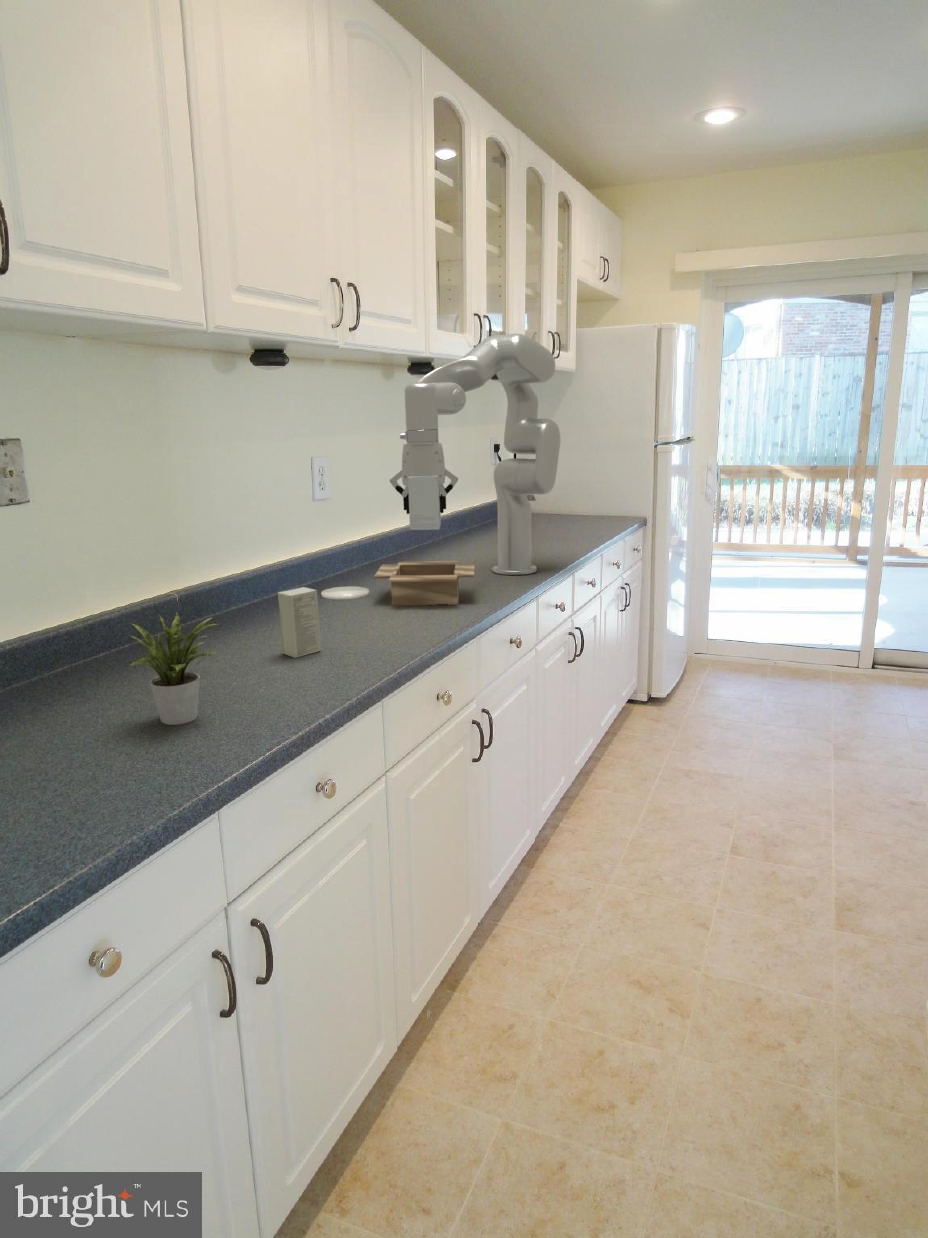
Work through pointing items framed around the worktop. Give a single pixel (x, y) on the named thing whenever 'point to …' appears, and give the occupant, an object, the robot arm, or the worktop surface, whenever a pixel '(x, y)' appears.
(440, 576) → the carton
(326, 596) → the plate
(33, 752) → the worktop surface
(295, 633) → the skincare box
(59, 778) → the worktop surface
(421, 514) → the supplement box
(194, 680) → the house plant
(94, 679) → the worktop surface
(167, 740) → the worktop surface
